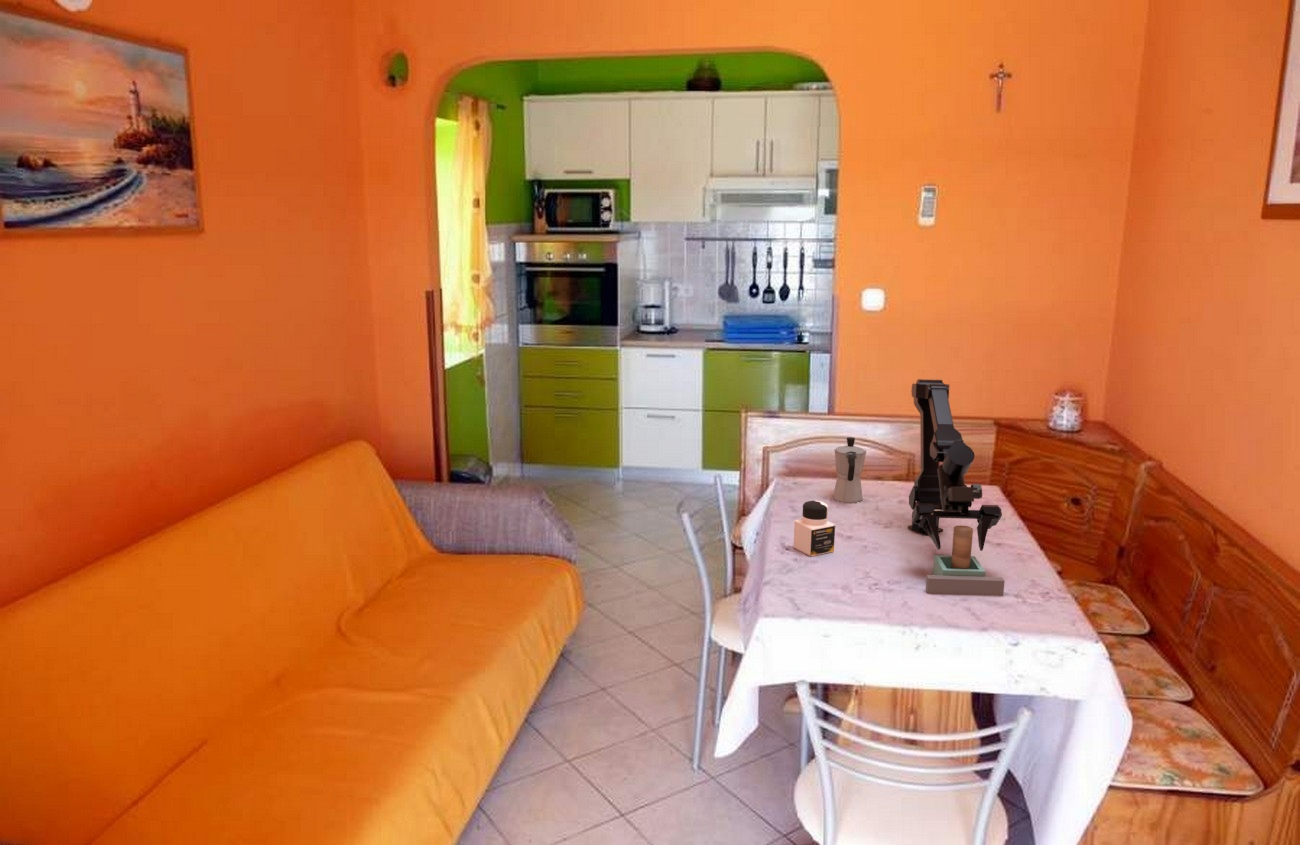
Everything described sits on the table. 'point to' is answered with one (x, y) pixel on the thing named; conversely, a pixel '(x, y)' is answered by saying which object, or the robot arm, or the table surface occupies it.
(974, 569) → the socket block
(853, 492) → the coffee maker
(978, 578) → the backstop wall
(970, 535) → the dowel
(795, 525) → the medicine bottle
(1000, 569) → the table surface
